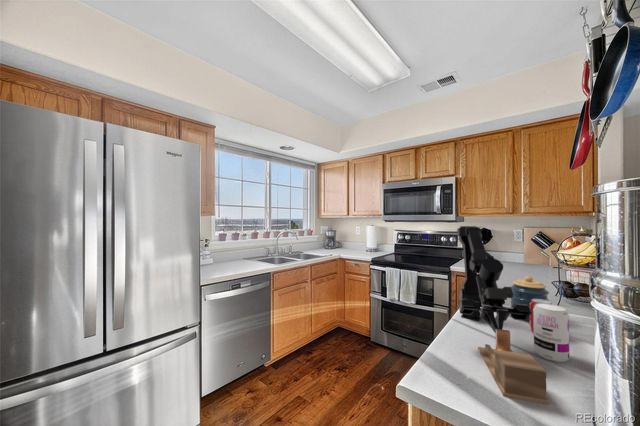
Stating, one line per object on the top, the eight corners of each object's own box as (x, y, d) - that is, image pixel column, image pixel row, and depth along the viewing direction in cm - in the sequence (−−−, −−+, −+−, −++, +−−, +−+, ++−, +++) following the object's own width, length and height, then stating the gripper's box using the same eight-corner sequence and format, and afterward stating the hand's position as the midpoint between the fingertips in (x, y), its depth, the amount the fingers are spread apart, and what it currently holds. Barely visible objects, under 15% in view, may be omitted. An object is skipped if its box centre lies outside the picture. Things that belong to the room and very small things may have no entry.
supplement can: (562, 352, 82) (561, 304, 82) (574, 365, 74) (573, 313, 74) (530, 347, 85) (529, 301, 85) (539, 359, 78) (538, 309, 78)
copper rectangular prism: (496, 359, 75) (495, 328, 76) (509, 361, 74) (508, 330, 75) (513, 387, 63) (513, 350, 63) (529, 390, 62) (529, 352, 62)
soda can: (560, 339, 91) (559, 304, 91) (537, 337, 92) (536, 303, 92) (546, 330, 97) (546, 298, 98) (525, 328, 99) (525, 297, 99)
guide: (477, 349, 84) (477, 326, 84) (510, 353, 81) (510, 330, 81) (503, 395, 62) (502, 365, 62) (549, 404, 59) (548, 372, 59)
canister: (531, 311, 117) (530, 272, 117) (558, 323, 104) (557, 279, 104) (503, 311, 117) (502, 272, 117) (527, 323, 104) (526, 279, 104)
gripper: (460, 274, 85) (468, 320, 75) (528, 278, 79) (547, 329, 69) (456, 291, 92) (463, 336, 82) (518, 296, 86) (534, 345, 76)
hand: (499, 336), depth 77 cm, fingers closed
